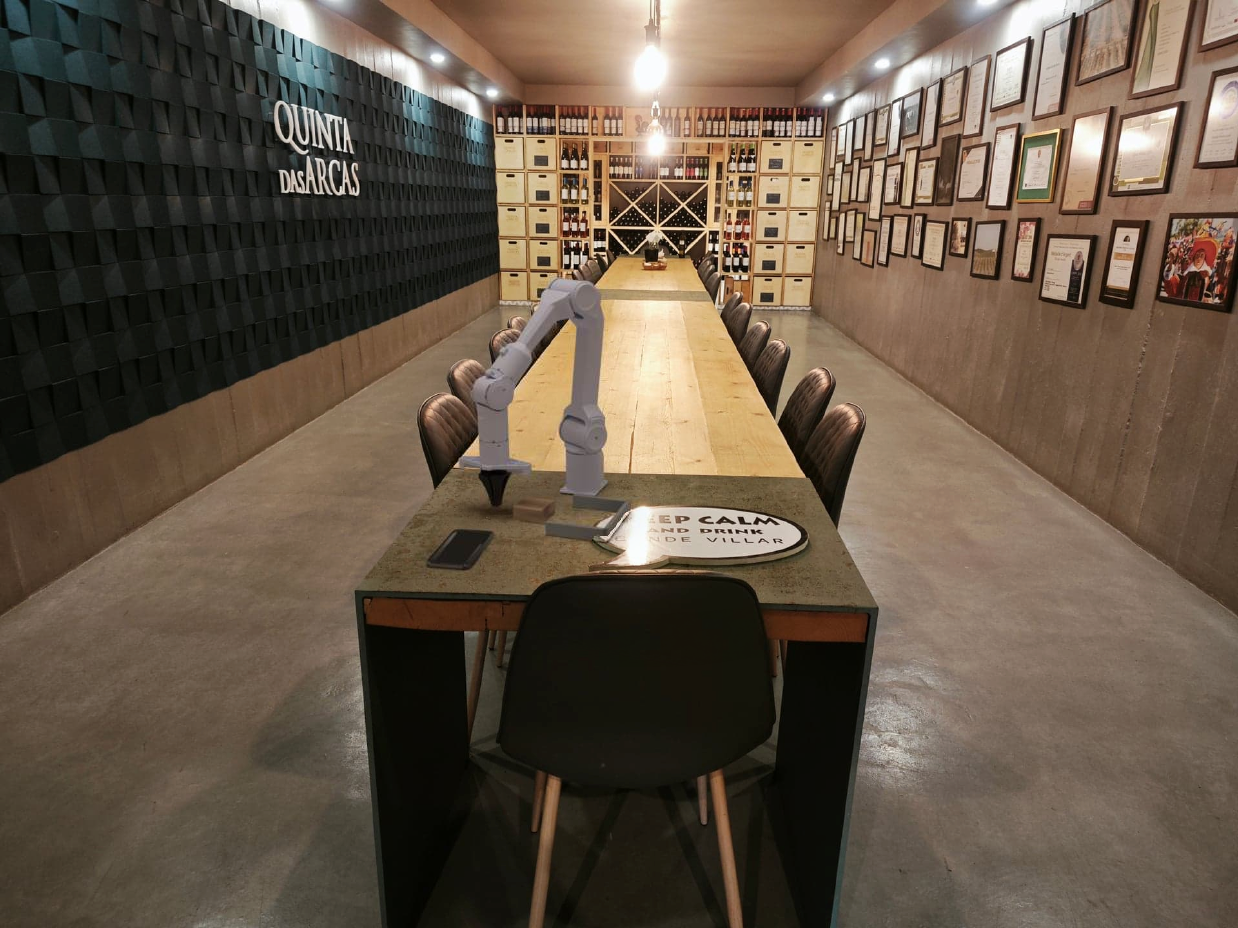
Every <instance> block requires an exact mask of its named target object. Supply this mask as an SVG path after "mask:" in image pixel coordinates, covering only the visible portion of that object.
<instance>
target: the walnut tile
mask: <svg viewBox="0 0 1238 928" xmlns="http://www.w3.org/2000/svg"><path fill="white" fill-rule="evenodd" d="M555 507H556V506H555V500H554V499H549V498H548V499H547V498H541V497H539V498H538V497H533V496H525V497H524V498H523V499H522V500H519V502H517V503H516V504H514V505H513V506H512V517H513V520H512V521H519V522H524V523H532V524H538V525H543V524H544V523H546V521H548V520H549V519H550V518H551V517H552V516H553V515H554V514H556V513H555ZM548 518H549V519H548Z"/></svg>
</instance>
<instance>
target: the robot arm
mask: <svg viewBox="0 0 1238 928" xmlns="http://www.w3.org/2000/svg"><path fill="white" fill-rule="evenodd" d="M539 301H540V302H539V304H538V305H537V307H536V309H535V310H534V312H533V313H532V315H531V316H530V318H529V320H528V322H527V324H526V325H525V326H524V329H523V330H522V332H521V333H520V335H519V336H518V339H517V340H516V341H515V342H511V343H506V345H505V346H502V347H501V348H500V349H499V351H498V353H499V355H498V356H497V358H496V359H495V361H494V362H493V364H492V365H491V366H490V368H487V369H486V371H485V375H482V376H481V377H478V378H477V379H476V381H475V382H474V383H473V386H472V390H470V392H469V395H470V397H471V399H472V401H473V402H474V403H475V405H476V411H477V412H476V413H477V431H478V433H477V434H478V449H479V456H478V455H477V456H476V455H473V456H472V455H471V456H469V455H462V456H461V457H459V458H458V467H459V469H465V468H468V469H469V468H470V469H477V470H480V472H479V473H478V475H477V478H478V479H479V481H480V482H481V483H482V485H483V487H484V489H485V491H486V493H487V495H488V498H489V502H490V505H491V507H494V508H495V507H496V508H498V507H500V506H501V505H502V504H503V500H504V499H503V497H504V494H505V490H506V487H507V484H508V482H509V480H510V477H511V475H512V474H513V473H515V474H522V475H523V476H528V475H530V474H532V470H533V468H532V462H526V461H522V460H518V459H515V458H511V457H510V437H509V410H508V409H509V408H508V407H509V406H510V404H512V403H513V401H514V398H515V397H514V396H515V388H516V385H518V383H519V381H520V380H521V378H522V376H524V374H525V373H526V371H527V369H528V368H529V367H530V365H532V364H531V363H532V362H533V357H532V352H533V351H534V350H535V348H536V347H537V346H538V344H539V343H540V342H541V341H542V339H543V338H544V337H545V336H546V334H547V333H548V332H549V331H550V329H551V328H552V327H553V326H554V324H555V323H556V322H558V321H562V320H567V319H569V320H570V321H571V323H572V324H573V325H574V326H575V327H576V331H575V343H574V359H573V371H572V387H571V397H570V398H571V399H570V403H569V404H568V405H567V406H566V407H565V408H564V409H563V414H562V418H561V420H560V423H559V426H558V436H559V438H560V440H561V441H562V442H563V443H564V444H563V445H564V447H563V448H565V485H563V487H561V488H560V489H559V493H561V494H571V495H574V494H578V495H587V496H595V497H597V495H598V494H599V492H600V491H602V489H604V487H605V486H606V485H607V484H609V483H608V482H609V481H608V479H607V480H606V479H605V473H604V472H605V466H604V465H605V455H604V452H603V450H602V449H603V447H604V446H605V445H606V444H607V443H606V442H607V439H608V431H607V427H606V417H605V415H604V413H603V411H602V410H601V409H600V407H599V405H598V403H599V390H600V379H601V378H600V377H601V366H602V355H603V353H602V352H603V341H604V329H605V316H604V313H603V309H602V305H601V303H602V292H601V291H600V290H599V289H598V288H597V287H596V286H595V284H594V283H593V282H591V281H589V280H577V279H570V278H569V279H568V278H565V277H555V278H553V279H552V280H551V281H550V282H549V283H548V285H547V287H546V289H545V290H543V291H542V292H541V297H540V300H539Z"/></svg>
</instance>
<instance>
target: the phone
mask: <svg viewBox="0 0 1238 928" xmlns="http://www.w3.org/2000/svg"><path fill="white" fill-rule="evenodd" d="M494 533H495V532H494V531H491V530H481V529H480V530H478V529H464V528H457V529H456V528H455V529H453V530H452V531H451V532H450V534H449V535H448V536H446V538H445V539H444V540H443V542H442V543H440V545H439V546H438V547H437V548H436V550H434V552H432V554H431V555H430V556H429V557H428V559H427V560H426V566H427V568H431V569H440V570H441V569H444V570H457V571H467V570H470V569H472V568H473V567H474V565H475V564H476V562H477V561H478V560H479V558H480V557H481V556H482V555H483V553H484V551H485V550H486V549H487V547H488V546H489V545H490V543H491V542H492V541H493V540H494V538H495V534H494Z"/></svg>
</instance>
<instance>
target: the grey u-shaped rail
mask: <svg viewBox="0 0 1238 928" xmlns="http://www.w3.org/2000/svg"><path fill="white" fill-rule="evenodd" d="M631 504H632V503H631V499H630V500H629V499H620V498H612V497H604V496H587V495H578V494H572V508H577V509H586V510H593V511H594V510H595V511H602V512H603V511H604V512H610V511H614V512H613V513H615V514H614V515H613V516H612V517H611V519H610V520H609V521H608V523H607V524H606V525H605V526H604V527H601V526H600V527H599V526H589V525H585V524H584V525H583V524H575V523H568V522H560V521H551V520H546V521H545V535H546V536H551V537H559V538H566V539H573V540H580V541H590V542H593V541H592V539H593V538H594V536H597V535H599V536H608V535H609V534H610V532H611V531H612V530H613V529H614V528H615V527H616V525H617V523H618V522H619V521H620V520H621V518H622V517H623V515H624V514H625V513H626V512H628V511H630V510H632V509H631Z"/></svg>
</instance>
